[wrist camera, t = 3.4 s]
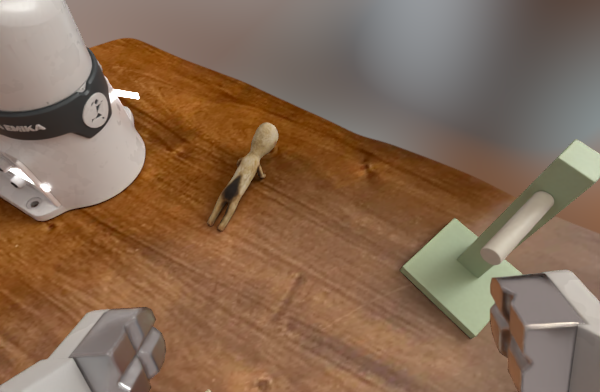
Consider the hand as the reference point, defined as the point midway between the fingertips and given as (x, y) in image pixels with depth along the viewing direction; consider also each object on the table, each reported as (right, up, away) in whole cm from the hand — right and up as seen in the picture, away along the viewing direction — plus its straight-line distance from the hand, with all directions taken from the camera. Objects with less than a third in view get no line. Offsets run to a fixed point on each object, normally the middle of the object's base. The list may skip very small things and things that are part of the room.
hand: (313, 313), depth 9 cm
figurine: (-7, +4, +41) cm, 42 cm away
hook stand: (+17, -7, +35) cm, 40 cm away
